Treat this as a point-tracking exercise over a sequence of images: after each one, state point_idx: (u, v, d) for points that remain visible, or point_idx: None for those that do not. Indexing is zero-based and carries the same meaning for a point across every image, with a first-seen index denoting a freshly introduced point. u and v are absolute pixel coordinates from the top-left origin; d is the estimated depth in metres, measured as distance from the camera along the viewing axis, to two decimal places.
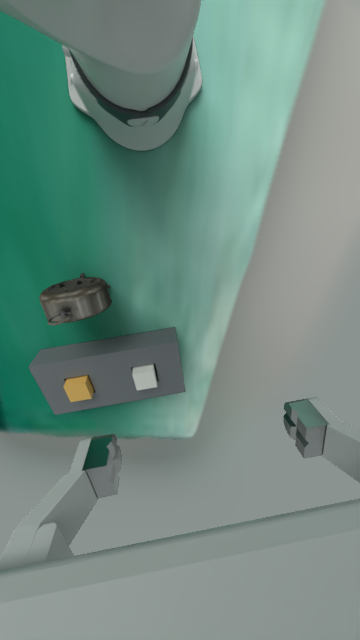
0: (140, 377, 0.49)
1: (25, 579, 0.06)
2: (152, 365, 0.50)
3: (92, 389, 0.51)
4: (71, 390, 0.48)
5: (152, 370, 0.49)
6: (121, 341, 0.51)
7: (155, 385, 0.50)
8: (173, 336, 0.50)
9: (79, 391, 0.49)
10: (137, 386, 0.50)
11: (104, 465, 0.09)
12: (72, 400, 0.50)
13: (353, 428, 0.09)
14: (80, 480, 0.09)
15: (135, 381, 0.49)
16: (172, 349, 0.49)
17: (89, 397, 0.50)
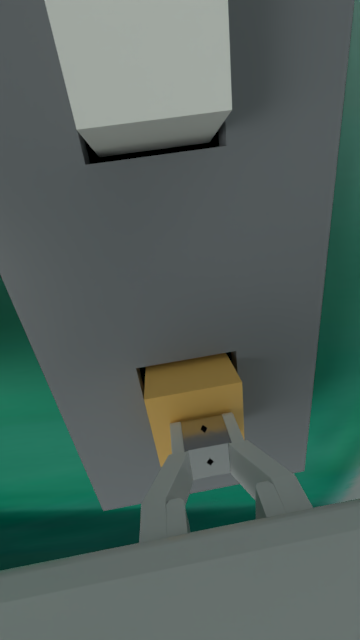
0: (103, 50, 0.06)
1: (25, 579, 0.06)
2: None
3: (211, 364, 0.12)
4: None
5: None
6: None
7: None
8: None
9: None
10: (196, 95, 0.07)
11: (204, 446, 0.09)
12: None
13: (254, 447, 0.09)
14: (185, 460, 0.09)
15: (141, 109, 0.07)
16: None
17: (233, 389, 0.11)
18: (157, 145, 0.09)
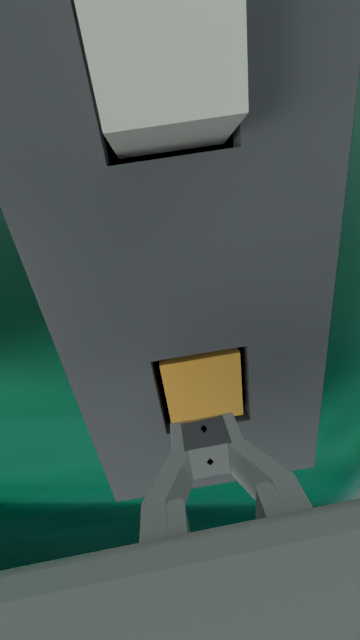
0: (129, 59, 0.06)
1: (25, 579, 0.06)
2: None
3: None
4: (190, 407, 0.14)
5: None
6: None
7: None
8: None
9: (199, 385, 0.13)
10: (214, 99, 0.07)
11: (204, 446, 0.09)
12: (236, 409, 0.14)
13: (254, 447, 0.09)
14: (185, 460, 0.09)
15: (162, 113, 0.07)
16: None
17: (232, 359, 0.13)
18: (174, 147, 0.09)
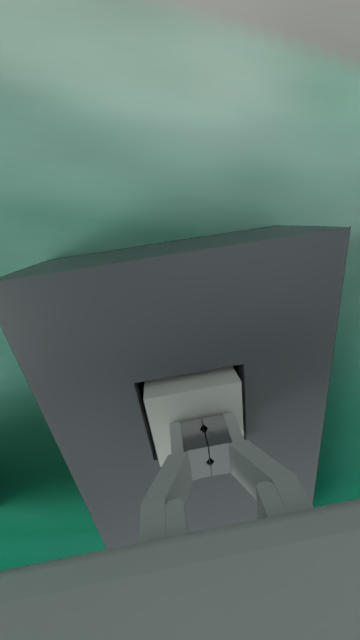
0: None
1: (25, 579, 0.06)
2: None
3: None
4: None
5: None
6: None
7: (230, 389, 0.11)
8: None
9: None
10: None
11: (204, 446, 0.09)
12: None
13: (254, 447, 0.09)
14: (184, 460, 0.09)
15: None
16: (40, 309, 0.09)
17: None
18: None
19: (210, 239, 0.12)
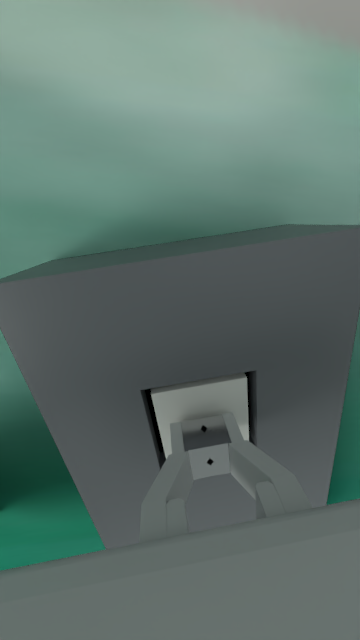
0: None
1: (25, 579, 0.06)
2: None
3: None
4: None
5: None
6: None
7: (236, 384, 0.11)
8: None
9: None
10: None
11: (204, 446, 0.09)
12: None
13: (254, 447, 0.09)
14: (185, 460, 0.09)
15: None
16: (42, 313, 0.09)
17: None
18: None
19: (220, 239, 0.12)
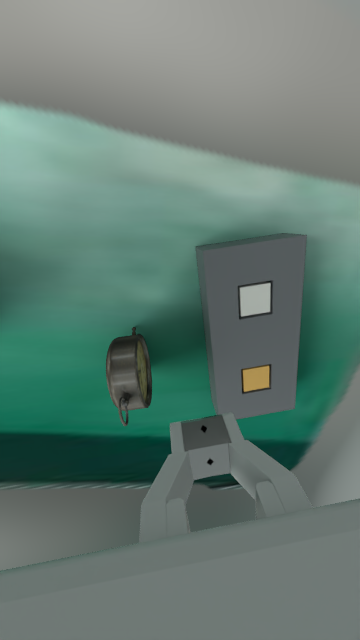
0: (248, 305, 0.35)
1: (25, 579, 0.06)
2: None
3: None
4: (251, 384, 0.40)
5: (239, 288, 0.34)
6: (205, 322, 0.39)
7: (266, 285, 0.34)
8: (200, 253, 0.33)
9: (255, 376, 0.40)
10: (263, 310, 0.35)
11: (204, 446, 0.09)
12: (266, 385, 0.40)
13: (254, 447, 0.09)
14: (185, 460, 0.09)
15: (253, 312, 0.35)
16: (216, 258, 0.31)
17: (266, 367, 0.39)
18: None
19: (260, 238, 0.34)
